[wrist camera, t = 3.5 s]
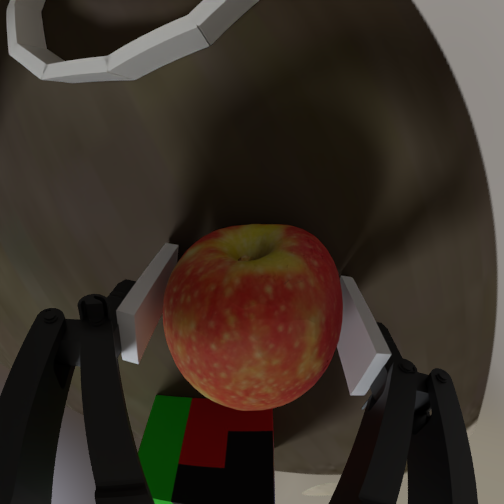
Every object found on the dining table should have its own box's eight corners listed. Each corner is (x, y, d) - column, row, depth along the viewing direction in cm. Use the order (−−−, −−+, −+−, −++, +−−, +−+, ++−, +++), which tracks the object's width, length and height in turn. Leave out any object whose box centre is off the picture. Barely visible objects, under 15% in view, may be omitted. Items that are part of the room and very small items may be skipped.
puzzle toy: (273, 447, 25) (274, 528, 16) (183, 444, 26) (169, 519, 17) (272, 397, 21) (273, 509, 12) (156, 394, 22) (126, 491, 13)
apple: (329, 207, 15) (390, 285, 7) (317, 332, 18) (340, 436, 11) (178, 210, 15) (110, 288, 8) (197, 333, 18) (170, 435, 11)
